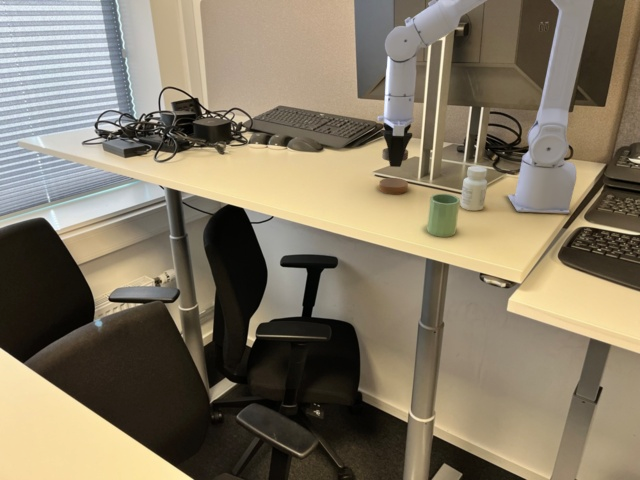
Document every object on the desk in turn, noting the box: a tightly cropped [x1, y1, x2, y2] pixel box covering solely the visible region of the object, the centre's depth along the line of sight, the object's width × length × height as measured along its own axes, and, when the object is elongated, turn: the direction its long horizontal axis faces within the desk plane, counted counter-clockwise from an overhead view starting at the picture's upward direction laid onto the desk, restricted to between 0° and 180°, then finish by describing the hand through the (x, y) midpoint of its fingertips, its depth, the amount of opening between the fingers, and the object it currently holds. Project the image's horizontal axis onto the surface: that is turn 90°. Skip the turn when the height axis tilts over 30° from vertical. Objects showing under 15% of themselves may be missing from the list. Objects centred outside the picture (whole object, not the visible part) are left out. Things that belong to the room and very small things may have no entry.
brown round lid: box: [381, 147, 409, 162], centre depth 96 cm, size 5×5×2 cm
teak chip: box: [378, 177, 409, 195], centre depth 99 cm, size 6×6×2 cm
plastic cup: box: [426, 193, 461, 238], centre depth 80 cm, size 5×5×6 cm
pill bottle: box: [459, 165, 488, 212], centre depth 89 cm, size 4×4×8 cm
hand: (394, 161), depth 97 cm, fingers closed on brown round lid, 5 cm apart
